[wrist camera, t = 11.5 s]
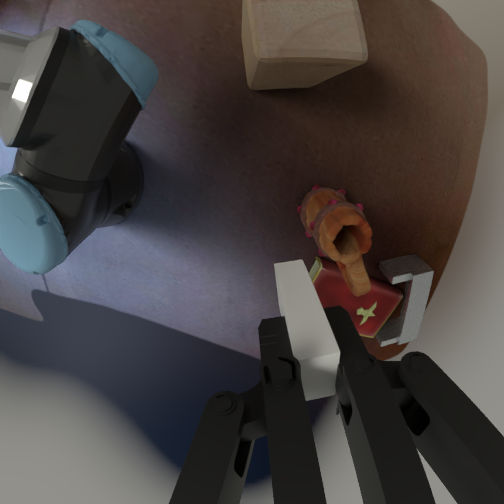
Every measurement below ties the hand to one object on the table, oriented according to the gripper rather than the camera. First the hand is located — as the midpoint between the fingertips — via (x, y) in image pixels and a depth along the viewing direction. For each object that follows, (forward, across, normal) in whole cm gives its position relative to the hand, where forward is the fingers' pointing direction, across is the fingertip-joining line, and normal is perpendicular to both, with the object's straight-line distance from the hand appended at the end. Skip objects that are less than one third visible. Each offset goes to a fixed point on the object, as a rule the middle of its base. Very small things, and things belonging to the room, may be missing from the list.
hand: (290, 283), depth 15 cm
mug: (+30, +10, -9) cm, 32 cm away
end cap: (+29, +25, -28) cm, 48 cm away
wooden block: (+30, +6, +18) cm, 35 cm away
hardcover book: (+30, +14, -26) cm, 42 cm away
